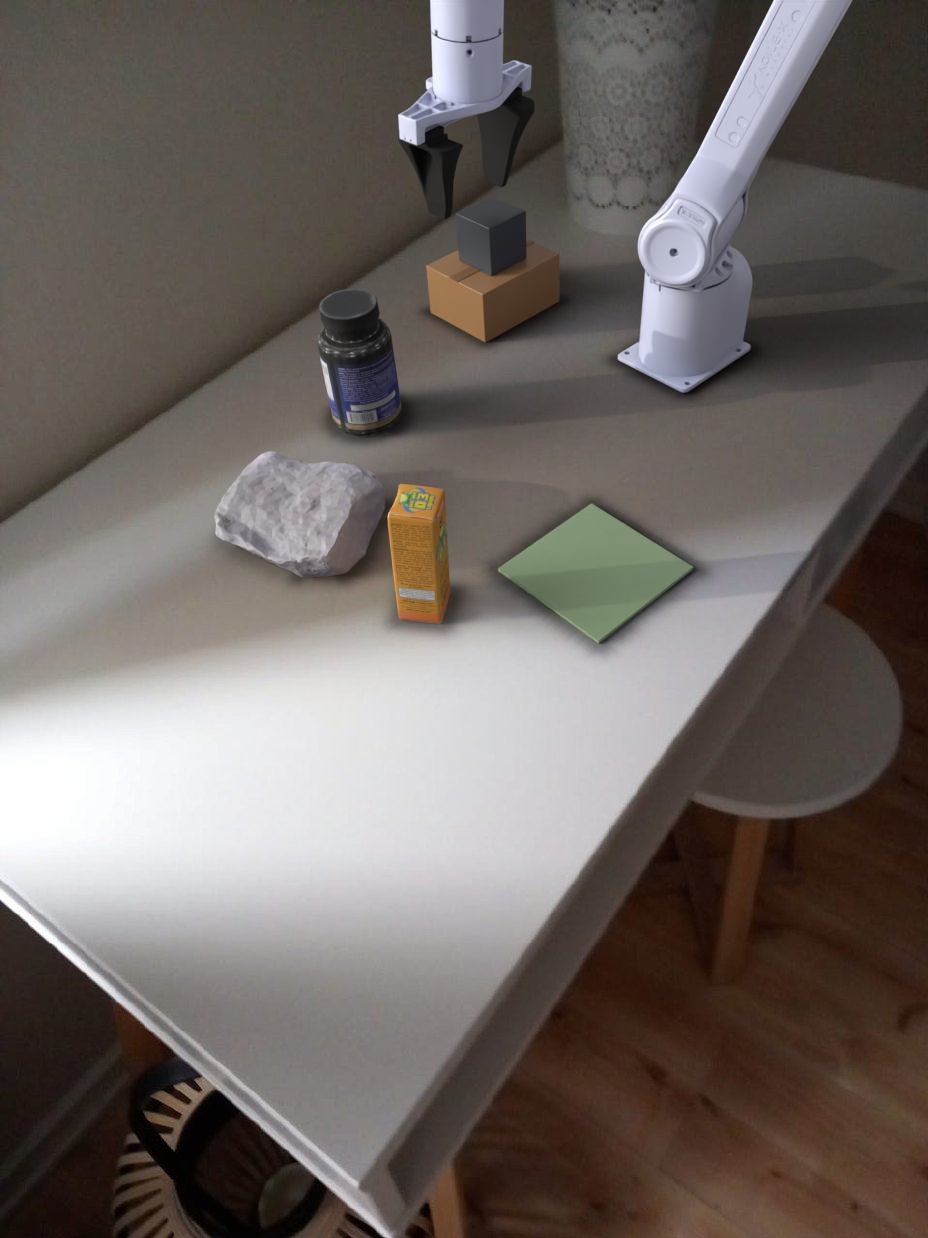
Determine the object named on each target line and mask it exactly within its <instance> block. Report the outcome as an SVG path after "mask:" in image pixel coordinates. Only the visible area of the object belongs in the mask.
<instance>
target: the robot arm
mask: <svg viewBox="0 0 928 1238" xmlns="http://www.w3.org/2000/svg"><path fill="white" fill-rule="evenodd" d="M429 1H430V2H429V4H430V5H429V6H430V8H429V9H430V36H431V68H432V76H431V77H428V78H427V79H426V80H425V89H426V91H425V92H424V93H423V94H422V95H421V96H420V97H419V98H418V99H417V100H416V101H415V102H414V103H412V105H411V106H410V107H409V108H408V109H406V110H404V111H402V112H400V113H399V114H398V116H397V117H398V129H397V139H398V140H397V141H398V144H399V145H400V146H401V148H402V150H403V151H404V152H405V154H406V156H407V158H408V159H409V161H410V163H411V165H412V167H413V169H414V171H415V173H416V175H417V178H418V181H419V184H420V187H421V191H422V194H423V197H424V199H425V200H424V201H425V203H426V207H427V211H428V213H429V214H431V215H434V216H436V217H438V218H441V219H443V220H447V219H449V218H450V217H451V215H452V211H453V204H454V184H455V175H456V170H457V165H458V161H459V158H460V155H461V152H462V150H463V147H464V145H463V144H462V143H460V142H457V141H455V140H452V139H449V134H448V133H445V128H446V127H448V126H450V125H451V124H453V123H455V122H457V121H459V120H462V119H463V118H468V117H473V116H476V118H477V119H476V120H477V122H478V123H477V124H478V129H479V133H480V141H481V142H480V143H481V161H482V163H481V165H482V172H483V173H482V175H483V178H484V181H485V182H486V183H489V184H491V185H494V186H496V187H499V188H504V187H505V186H507V184H508V180H509V176H510V173H511V169H512V167H513V161H514V159H515V155H516V151H517V149H518V146H519V144H520V140H521V138H522V135H523V133H524V131H525V129H526V127H527V125H528V124H529V121H530V120H531V118H532V117H533V115H534V113H535V107H536V105H535V104H536V103H535V100H534V99H533V98H531V97H527V96H525V95H523V93H525V92H529V91H530V90H531V89H532V68H533V67H532V65H531V64H527V63H525V62H521V61H519V60H515V59H514V60H511V61H509V62H506V63H504V19H505V18H504V14H505V13H504V12H505V0H429ZM852 2H853V0H773V1H772V3H771V5H770V7H769V9H768V11H767V13H766V15H765V17H764V19H763V21H762V23H761V25H760V26H759V29H758V31H757V33H756V35H755V37H754V38H753V41H752V43H751V45H750V47H749V49H748V51H747V53H746V55H745V57H744V59H743V60H742V63H741V65H740V67H739V69H738V71H737V73H736V75H735V77H734V78H733V81H732V82H731V85H730V87H729V88H728V91H727V93H726V95H725V97H724V99H723V101H722V102H721V105H720V107H719V109H718V111H717V113H716V114H715V117H714V119H713V121H712V123H711V125H710V127H709V129H708V131H707V133H706V134H705V136H704V139H703V141H702V142H701V145H700V147H699V149H698V151H697V153H696V155H695V156H694V158H693V159H692V161H691V163H690V165H689V166H688V168H687V170H686V171H685V172H684V175H683V176H682V177H681V178H680V179H679V181H678V183H677V185H676V187H675V188H674V191H673V192H672V193H671V195H670V196H668V198H667V200H666V201H665V202H664V203H663V204H662V206H661V207H660V208H659V209H658V211H657V212H656V213H655V214H654V215H653V216H652V217H650V218H649V219H648V220H647V221H646V222H645V224H644V225H643V227H642V228H641V230H640V232H639V235H638V239H637V253H638V258H639V261H640V263H641V266H642V267H643V269H644V278H643V279H644V281H643V293H642V304H641V305H642V306H641V318H640V329H639V340H638V341H637V342H636V343H634V344H632V345H631V346H629V347H628V348H626V349H625V350H623V351H621V352H619V353H618V354H617V360H618V361H619V362H621V363H623V364H624V365H626V366H629V367H631V368H633V369H635V370H637V371H639V372H640V373H643V374H644V375H646V376H648V377H650V378H652V379H654V380H656V381H658V382H660V383H662V384H664V385H666V386H668V387H670V388H672V389H674V390H676V391H677V392H680V393H682V394H683V393H688V392H690V391H691V390H693V389H695V388H696V387H697V386H699V385H701V384H702V383H703V382H705V381H706V380H708V379H710V378H711V377H713V376H714V375H715V374H717V373H718V372H720V371H721V370H723V369H724V368H727V366H729V365H730V364H732V363H733V362H735V361H736V360H738V359H740V358H741V357H742V356H744V355H746V354H747V353H748V352H750V351H751V347H752V346H751V344H750V343H748V342H746V341H744V337H745V331H746V326H747V321H748V315H749V314H748V313H749V309H750V303H751V296H752V290H753V275H752V270H751V267H750V265H749V262H748V260H747V259H746V257H745V256H744V255H743V253H741V252H740V251H739V250H737V249H736V248H735V247H733V246H731V243H730V240H731V238H732V236H733V235H734V234H735V232H737V230H738V229H740V227H741V226H742V224H743V222H744V221H745V219H746V215H747V212H748V203H749V191H750V188H751V185H752V183H753V181H754V180H755V178H756V176H757V174H758V172H759V169H760V165H761V164H762V162H763V160H764V158H765V157H766V155H767V153H768V151H769V149H770V147H771V146H772V144H773V142H774V141H775V139H776V137H777V135H778V134H779V132H780V130H781V128H782V127H783V124H784V123H785V121H786V119H787V117H788V116H789V114H790V112H791V110H792V108H793V107H794V105H795V103H796V102H797V100H798V98H799V97H800V94H801V93H802V91H803V89H804V87H805V85H806V84H807V82H808V80H809V78H811V75H812V73H813V71H814V69H815V68H816V66H817V65H818V62H819V61H820V59H821V58H822V56H823V54H824V52H825V50H826V48H827V47H828V45H829V43H830V41H831V40H832V37H833V36H834V34H835V32H836V31H837V29H838V27H839V25H840V23H841V22H842V20H843V19H844V16H845V15H846V13H847V11H848V9H849V8H850V6H851V4H852Z"/></svg>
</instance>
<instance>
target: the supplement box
mask: <svg viewBox="0 0 928 1238" xmlns="http://www.w3.org/2000/svg"><path fill="white" fill-rule="evenodd" d="M446 505H447V504H446V491H445V489H443V488H438V487H433V486H424V485H417V484H406V483H400V484H399V485H398V488H397V494H396V496H395V499H394V501H393V504H392V507H390V509H389V511H388V513H387V528H388V537H389V545H390V547H389V548H390V554H391V555H390V557H391V564H392V565H391V566H392V574H393V581H394V582H393V583H394V590H395V599H396V607H397V614H398V618H399V619H401V620H403V621H412V622H420V623H428V624H429V623H431V624H442V623H443V620H444V617H445V614H446V610H447V607H448V603H449V600H450V597H451V582H450V563H449V562H450V561H449V543H448V524H447V506H446Z"/></svg>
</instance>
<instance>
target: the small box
mask: <svg viewBox="0 0 928 1238" xmlns="http://www.w3.org/2000/svg"><path fill="white" fill-rule="evenodd" d="M455 222H456V235H457V237H456V238H457V250H458V251H459V260H460V261H462V262H464V263H466V264H468V265H470V266H472V267H474V268H476V269H478V270H480V271H482V272H484V273H486V274H488V275H490V276H493V275H495V274H496V273H498V272H500V271H502V270H504V269H506V268H508V267H510V266H512V265H514V264H516V263H518V262H519V261H521V260H523V259H525V258H526V257H527V250H526V238H527V211H526V210H525V209H523V208H521V207H518V206H515V205H513V204H511V203H510V202H506V201H504V200H502V199H499V198H497V197H495V196H493V195H491V196H489V197H486V198H485V199H483V200H481V201H479V202H476V203H475V204H472V205H470V206H469V207H466V208H464V209H462V210H460V211H458V212H456V213H455Z"/></svg>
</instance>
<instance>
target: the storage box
mask: <svg viewBox="0 0 928 1238" xmlns="http://www.w3.org/2000/svg"><path fill="white" fill-rule="evenodd" d="M526 250H527V257H526V258H525V259H523V260H521V261H519V262H518V263H516V264H514V265H512V266H510V267H508V268H506V269H504V270H502V271H500V272H498V273H496V274H495V275H493V276H490V275H488V274H486V273H484V272H482V271H480V270H478V269H476V268H474V267H472V266H470V265H468V264H466V263H464V262H462V261H460V260H459V251H458V249H457V250H455V251H453V252H451V253H449V254H447V255H445V256H443V257H441V258H439V259H437V260H435V261H432V262H430V263H429V264H427V265H426V266H425V270H426V279H427V289H428V298H429V309H430V313H431V314H432V315H434V316H436V317H437V318H440V319H442V320H443V321H445V322H447V323H449V324H450V325H452V326H454V327H455V328H457V329H460V330H461V331H463V332H465V333H467V334H469V335H471V336H472V337H474V338H476V339H478V340H480V341H481V342H484V343H487V342H490V341H491V340H493V339H494V338H497V337H498V336H500V335H502V334H504V333H505V332H507V331H509V330H511V329H512V328H514V327H516V326H518V325H519V324H521V323H523V322H525V321H527V320H529V319H531V318H533V317H534V316H535V315H537V314H539V313H541V312H543V311H545V310H546V309H548V308H550V307H552V306H553V305H555V304H557V303H559V302H560V260H561V259H560V253H559V252H556V251H554V250H552V249H549V248H548V247H545V246H543V245H541V244H539V243H536V241H535V240H532V239H530V238H528V237H526Z"/></svg>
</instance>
